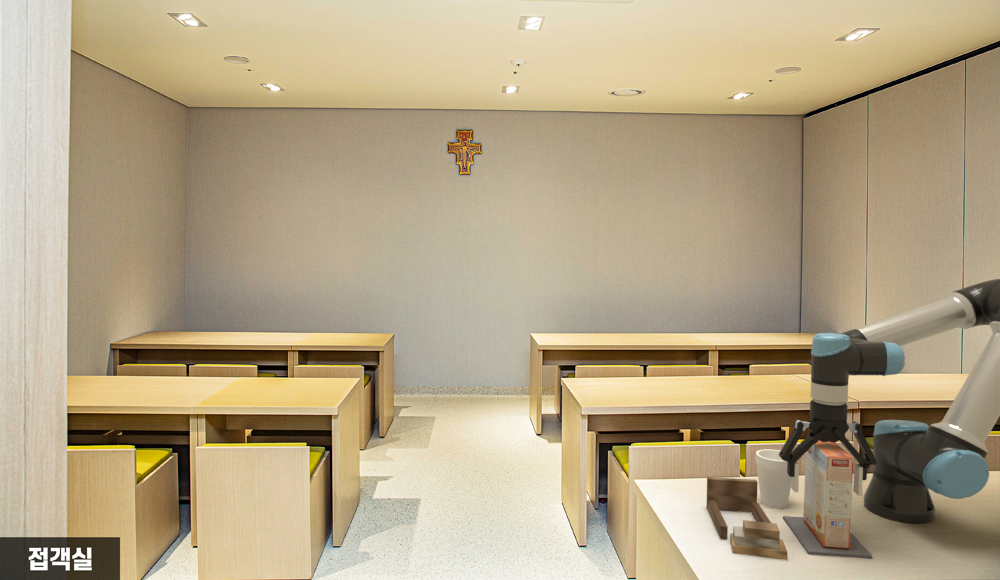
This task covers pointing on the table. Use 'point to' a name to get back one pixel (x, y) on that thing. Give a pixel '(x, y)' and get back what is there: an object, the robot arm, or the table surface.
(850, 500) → the cracker box
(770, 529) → the offcut stack
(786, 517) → the mat
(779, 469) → the foam cup
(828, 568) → the table surface
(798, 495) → the table surface
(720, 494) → the rack
